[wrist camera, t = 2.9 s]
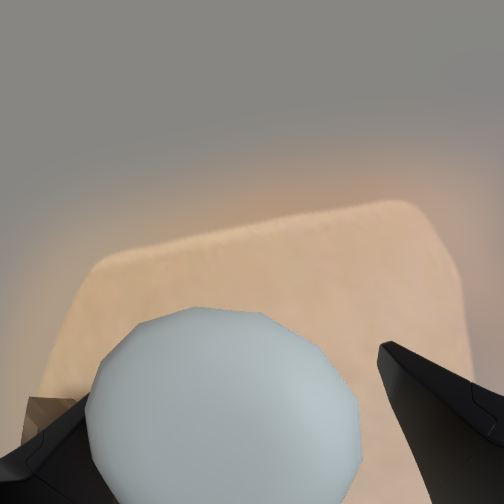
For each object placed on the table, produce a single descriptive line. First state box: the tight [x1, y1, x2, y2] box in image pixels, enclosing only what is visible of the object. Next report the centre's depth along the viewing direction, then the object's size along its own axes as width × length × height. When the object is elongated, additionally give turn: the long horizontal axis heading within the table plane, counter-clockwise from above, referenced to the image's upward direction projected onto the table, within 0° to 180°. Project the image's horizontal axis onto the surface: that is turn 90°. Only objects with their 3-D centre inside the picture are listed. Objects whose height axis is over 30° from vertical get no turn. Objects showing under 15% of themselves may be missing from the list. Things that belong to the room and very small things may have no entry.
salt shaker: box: [85, 307, 362, 504], centre depth 8 cm, size 6×6×13 cm
